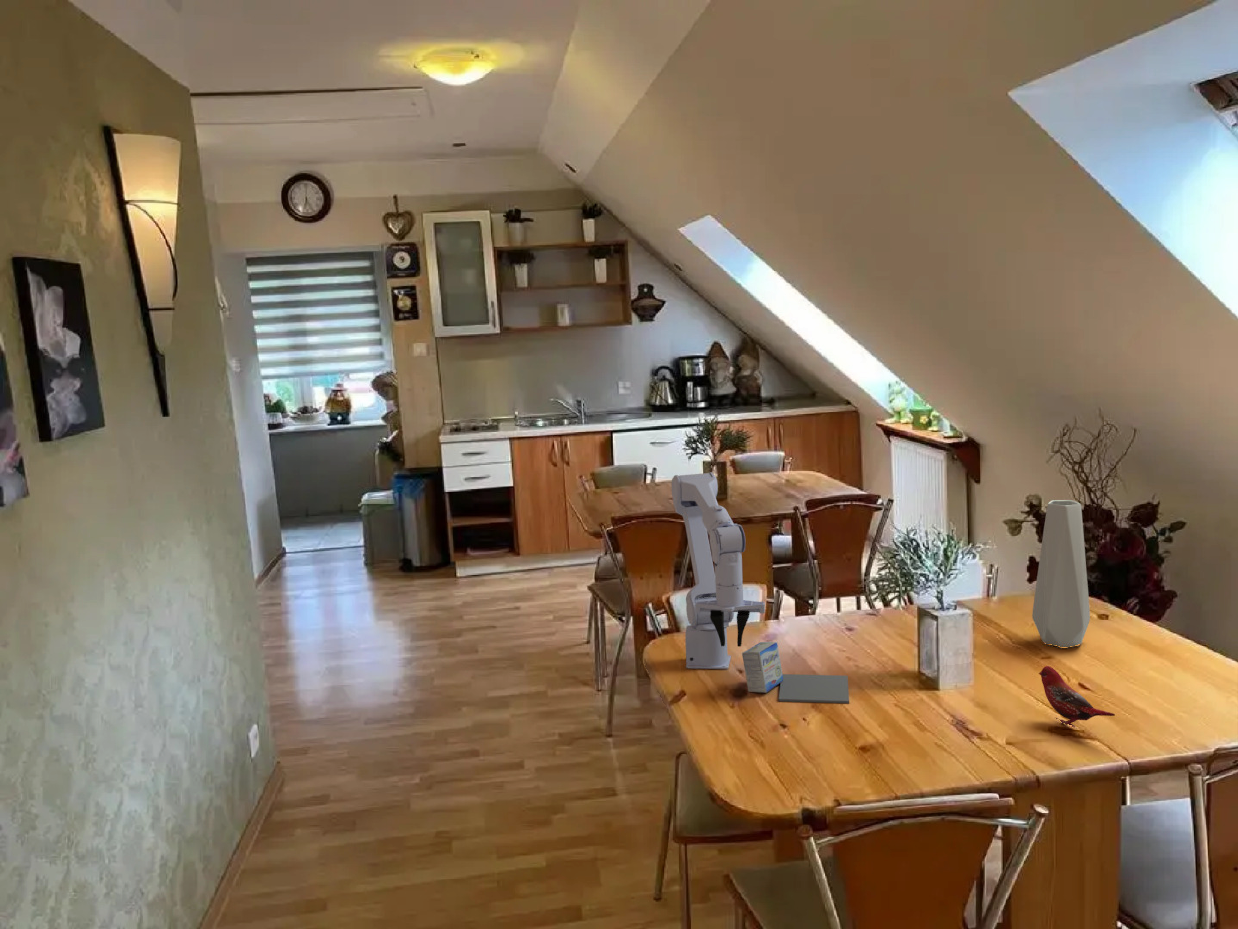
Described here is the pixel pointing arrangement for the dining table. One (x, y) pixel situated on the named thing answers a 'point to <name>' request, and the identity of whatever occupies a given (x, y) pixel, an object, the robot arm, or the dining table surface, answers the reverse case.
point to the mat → (814, 688)
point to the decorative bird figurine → (1067, 698)
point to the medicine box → (762, 667)
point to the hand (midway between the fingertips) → (731, 644)
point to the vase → (1062, 577)
